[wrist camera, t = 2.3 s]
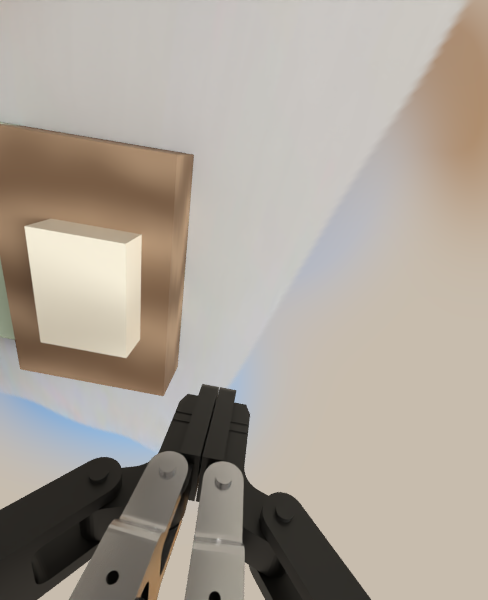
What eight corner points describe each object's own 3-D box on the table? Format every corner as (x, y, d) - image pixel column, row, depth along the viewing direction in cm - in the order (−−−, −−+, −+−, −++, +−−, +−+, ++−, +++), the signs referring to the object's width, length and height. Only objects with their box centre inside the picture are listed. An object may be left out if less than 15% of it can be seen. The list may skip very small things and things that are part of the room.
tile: (51, 218, 21) (24, 226, 19) (141, 234, 21) (125, 243, 18) (62, 325, 24) (40, 342, 22) (140, 339, 24) (126, 358, 22)
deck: (24, 126, 22) (-25, 120, 19) (193, 154, 22) (176, 154, 18) (51, 343, 30) (20, 368, 26) (177, 366, 30) (163, 396, 26)
